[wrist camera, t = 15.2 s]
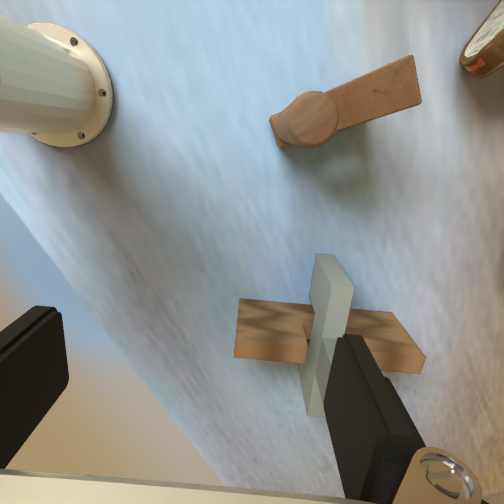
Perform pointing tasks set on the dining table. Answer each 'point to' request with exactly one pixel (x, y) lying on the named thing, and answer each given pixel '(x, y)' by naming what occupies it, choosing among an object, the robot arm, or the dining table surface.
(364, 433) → the robot arm
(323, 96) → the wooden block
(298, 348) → the walnut slotted board
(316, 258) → the grey slotted plate
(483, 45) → the tin
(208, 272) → the dining table surface
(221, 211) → the dining table surface
